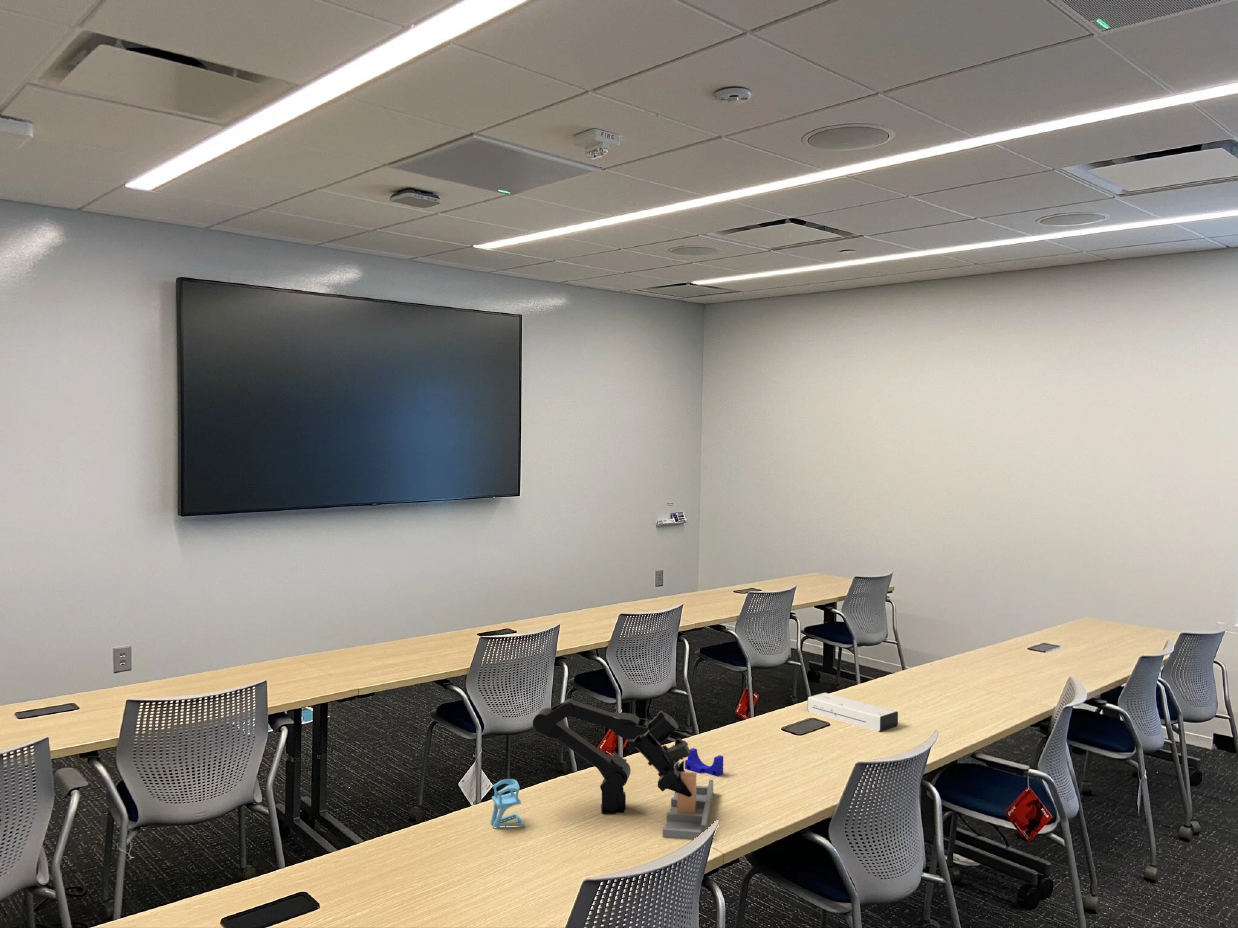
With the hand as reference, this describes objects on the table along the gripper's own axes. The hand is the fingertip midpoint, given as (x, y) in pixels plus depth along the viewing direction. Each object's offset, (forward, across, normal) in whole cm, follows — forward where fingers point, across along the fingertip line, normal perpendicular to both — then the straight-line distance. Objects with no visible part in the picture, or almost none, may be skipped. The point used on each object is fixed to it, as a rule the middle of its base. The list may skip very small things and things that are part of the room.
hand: (691, 792), depth 253 cm
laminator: (+43, +103, -33) cm, 116 cm away
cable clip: (+6, +36, +4) cm, 36 cm away
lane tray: (+4, 0, +5) cm, 7 cm away
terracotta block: (+3, 0, +5) cm, 6 cm away
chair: (-31, -15, +40) cm, 53 cm away
